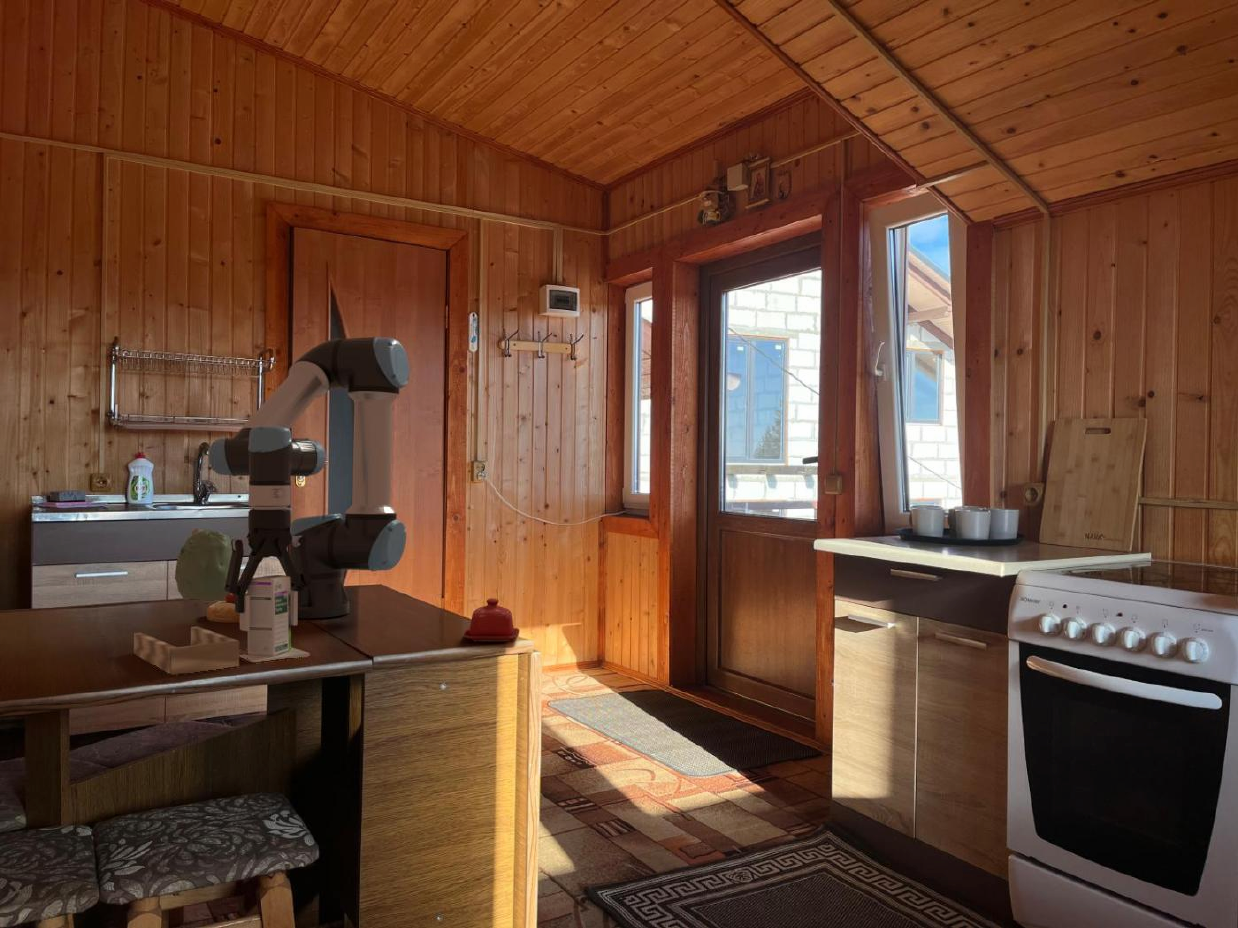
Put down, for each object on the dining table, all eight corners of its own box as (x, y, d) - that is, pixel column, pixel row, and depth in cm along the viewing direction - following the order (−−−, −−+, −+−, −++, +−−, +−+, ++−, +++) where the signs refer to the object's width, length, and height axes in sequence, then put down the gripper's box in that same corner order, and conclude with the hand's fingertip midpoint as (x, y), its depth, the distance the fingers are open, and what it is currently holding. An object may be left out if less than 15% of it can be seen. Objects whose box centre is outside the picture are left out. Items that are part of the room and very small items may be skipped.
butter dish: (520, 633, 206) (520, 594, 206) (518, 643, 195) (518, 602, 195) (467, 633, 206) (467, 594, 206) (462, 643, 194) (462, 602, 194)
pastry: (249, 620, 220) (249, 582, 220) (273, 626, 212) (273, 587, 212) (197, 626, 212) (197, 586, 212) (219, 633, 204) (220, 592, 204)
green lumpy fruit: (184, 615, 226) (184, 532, 226) (165, 605, 241) (165, 527, 241) (251, 609, 236) (251, 529, 236) (228, 600, 251) (229, 525, 251)
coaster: (228, 656, 179) (228, 652, 179) (284, 648, 186) (284, 644, 186) (252, 665, 171) (252, 661, 171) (309, 657, 178) (309, 653, 178)
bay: (133, 660, 175) (134, 633, 175) (197, 652, 183) (197, 626, 183) (172, 678, 160) (172, 649, 160) (239, 668, 168) (239, 640, 168)
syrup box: (274, 656, 175) (274, 578, 175) (245, 654, 176) (246, 577, 176) (291, 650, 180) (292, 575, 180) (264, 649, 182) (264, 574, 182)
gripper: (220, 510, 168) (219, 636, 168) (331, 507, 183) (330, 623, 183) (204, 508, 174) (203, 631, 174) (313, 505, 189) (313, 618, 189)
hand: (268, 627), depth 179 cm, fingers open, 9 cm apart
